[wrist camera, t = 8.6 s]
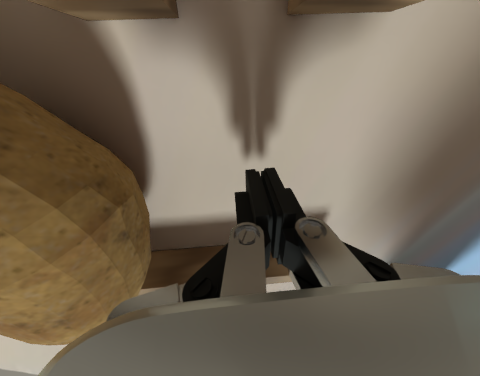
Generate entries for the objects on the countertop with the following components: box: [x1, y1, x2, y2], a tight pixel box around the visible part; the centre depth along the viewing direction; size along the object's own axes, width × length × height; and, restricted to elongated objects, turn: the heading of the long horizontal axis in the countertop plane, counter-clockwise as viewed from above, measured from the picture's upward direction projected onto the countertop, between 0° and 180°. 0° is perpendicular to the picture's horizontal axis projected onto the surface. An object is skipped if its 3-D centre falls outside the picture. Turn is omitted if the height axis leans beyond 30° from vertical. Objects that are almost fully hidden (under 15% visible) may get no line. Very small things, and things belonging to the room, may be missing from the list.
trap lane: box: [27, 0, 424, 296], centre depth 11 cm, size 26×18×4 cm
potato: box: [0, 83, 151, 345], centre depth 9 cm, size 10×14×8 cm
